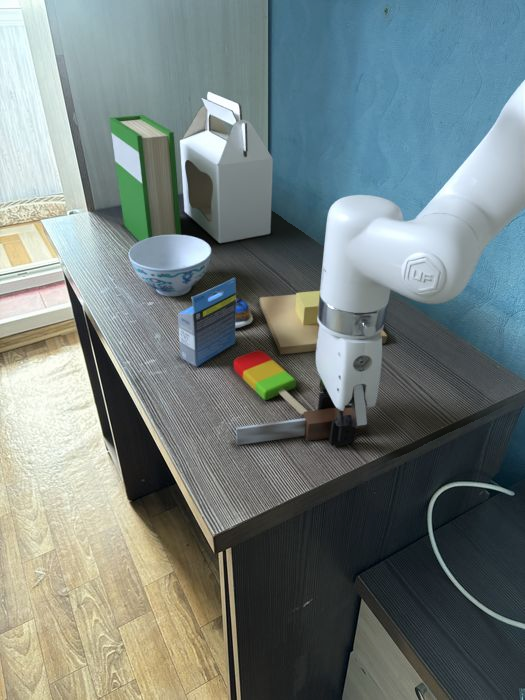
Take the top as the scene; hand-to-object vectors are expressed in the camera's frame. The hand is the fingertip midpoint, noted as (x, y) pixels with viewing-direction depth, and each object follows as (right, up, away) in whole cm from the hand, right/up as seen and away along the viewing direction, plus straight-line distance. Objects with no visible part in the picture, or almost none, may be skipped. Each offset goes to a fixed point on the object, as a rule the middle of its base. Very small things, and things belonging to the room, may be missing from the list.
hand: (335, 427), depth 68 cm
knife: (-5, -1, 0) cm, 5 cm away
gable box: (-19, +41, +59) cm, 74 cm away
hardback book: (-35, +37, +51) cm, 72 cm away
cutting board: (0, +15, +22) cm, 27 cm away
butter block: (0, +16, +21) cm, 27 cm away
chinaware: (-27, +22, +31) cm, 47 cm away
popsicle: (-8, +4, +7) cm, 12 cm away
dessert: (-15, +16, +23) cm, 31 cm away
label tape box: (-18, +10, +14) cm, 25 cm away
